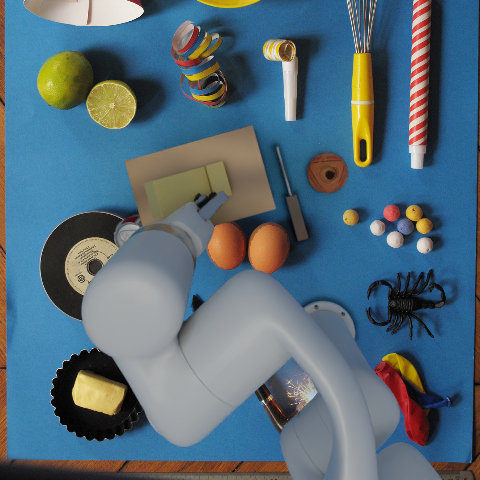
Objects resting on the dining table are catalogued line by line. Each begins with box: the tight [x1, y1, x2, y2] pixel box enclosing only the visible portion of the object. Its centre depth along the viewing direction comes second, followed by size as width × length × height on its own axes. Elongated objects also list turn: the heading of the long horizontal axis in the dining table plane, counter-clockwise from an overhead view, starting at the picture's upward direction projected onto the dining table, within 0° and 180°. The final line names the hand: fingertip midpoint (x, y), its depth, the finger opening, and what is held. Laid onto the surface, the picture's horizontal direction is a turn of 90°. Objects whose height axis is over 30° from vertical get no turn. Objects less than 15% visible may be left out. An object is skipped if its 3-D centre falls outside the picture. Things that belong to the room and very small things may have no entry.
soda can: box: [113, 212, 142, 249], centre depth 80 cm, size 7×7×12 cm
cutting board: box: [124, 124, 277, 227], centre depth 74 cm, size 13×20×23 cm, turn 106°
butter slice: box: [203, 161, 232, 196], centre depth 60 cm, size 5×2×4 cm, turn 16°
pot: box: [306, 152, 349, 194], centre depth 82 cm, size 8×8×7 cm
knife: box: [275, 146, 310, 242], centre depth 84 cm, size 19×2×3 cm, turn 16°
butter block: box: [144, 167, 211, 218], centre depth 59 cm, size 5×8×4 cm
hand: (177, 224), depth 58 cm, fingers open, 9 cm apart
